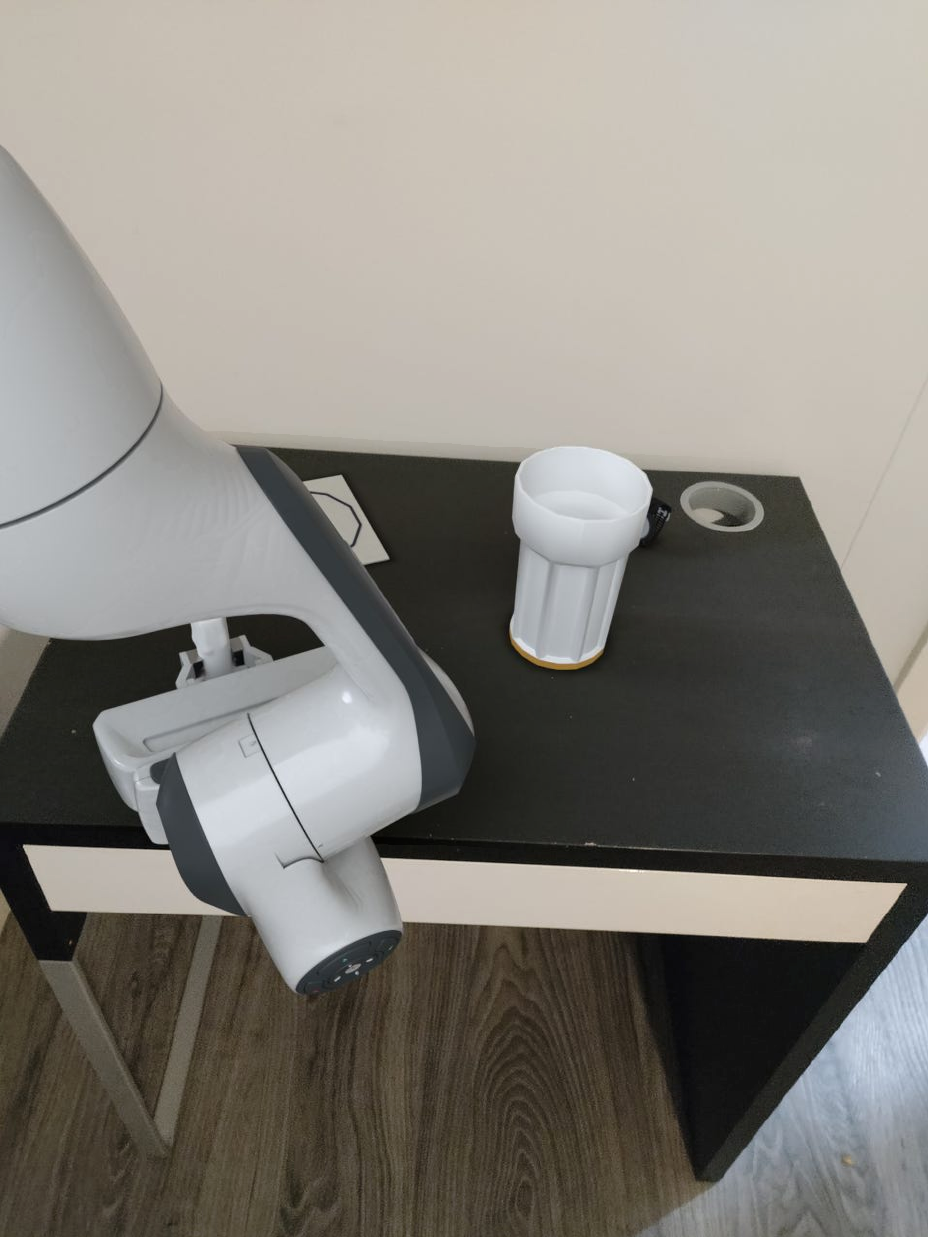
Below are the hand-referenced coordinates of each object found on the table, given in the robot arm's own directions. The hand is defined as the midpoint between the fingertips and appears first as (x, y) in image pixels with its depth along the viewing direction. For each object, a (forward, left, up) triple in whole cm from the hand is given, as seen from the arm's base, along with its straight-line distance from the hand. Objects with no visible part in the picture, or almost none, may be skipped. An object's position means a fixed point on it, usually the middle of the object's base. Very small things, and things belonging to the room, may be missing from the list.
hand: (212, 649), depth 74 cm
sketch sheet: (+10, +22, -7) cm, 25 cm away
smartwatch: (+47, +8, -7) cm, 48 cm away
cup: (+31, -2, -7) cm, 32 cm away
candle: (0, -1, -7) cm, 7 cm away
